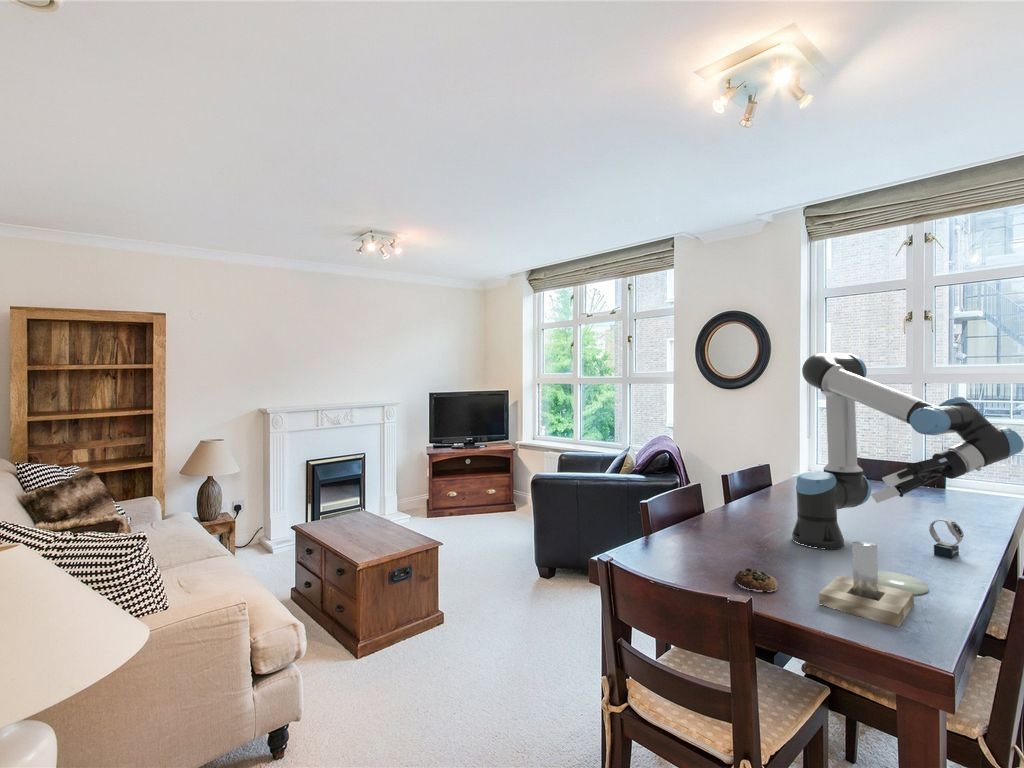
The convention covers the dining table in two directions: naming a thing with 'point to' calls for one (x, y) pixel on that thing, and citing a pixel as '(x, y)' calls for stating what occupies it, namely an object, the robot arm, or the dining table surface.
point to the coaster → (902, 582)
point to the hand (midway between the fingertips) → (879, 490)
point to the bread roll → (756, 580)
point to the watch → (947, 548)
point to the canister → (865, 570)
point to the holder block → (868, 601)
